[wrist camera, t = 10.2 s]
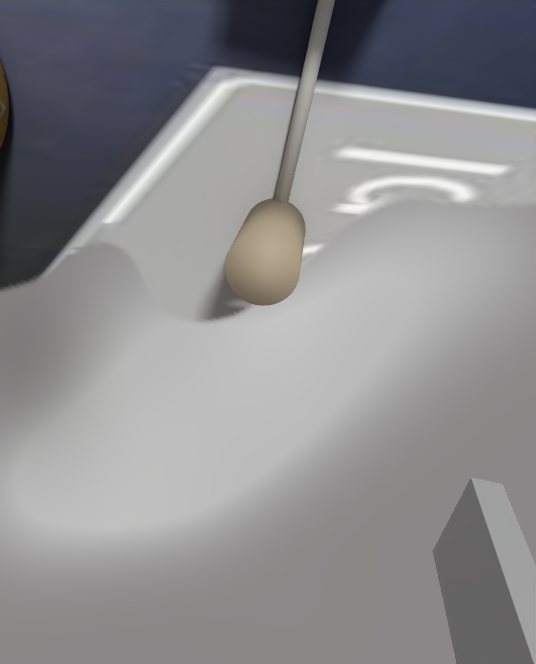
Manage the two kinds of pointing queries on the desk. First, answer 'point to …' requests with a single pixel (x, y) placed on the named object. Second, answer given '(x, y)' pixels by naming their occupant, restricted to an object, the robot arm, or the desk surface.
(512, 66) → the desk surface
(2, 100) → the planter
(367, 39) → the desk surface
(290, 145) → the tan maraca
